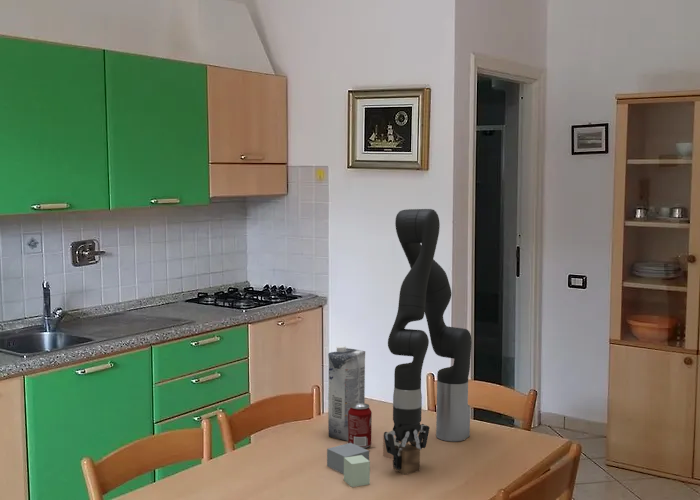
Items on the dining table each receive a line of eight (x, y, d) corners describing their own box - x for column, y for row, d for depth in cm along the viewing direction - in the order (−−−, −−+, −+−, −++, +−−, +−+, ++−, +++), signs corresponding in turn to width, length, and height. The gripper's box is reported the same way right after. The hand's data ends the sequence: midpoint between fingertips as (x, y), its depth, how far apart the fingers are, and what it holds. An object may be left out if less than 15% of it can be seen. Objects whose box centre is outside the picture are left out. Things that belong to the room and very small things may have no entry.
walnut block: (408, 465, 212) (408, 443, 212) (419, 471, 208) (420, 449, 207) (393, 469, 209) (393, 447, 209) (404, 474, 205) (405, 452, 205)
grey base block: (350, 460, 216) (350, 442, 215) (368, 469, 210) (369, 450, 209) (327, 466, 211) (327, 448, 211) (345, 475, 205) (345, 457, 204)
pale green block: (361, 477, 203) (361, 455, 203) (369, 484, 199) (369, 461, 198) (343, 480, 201) (343, 457, 201) (351, 487, 196) (351, 464, 196)
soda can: (368, 451, 223) (369, 409, 222) (345, 449, 224) (346, 408, 223) (373, 443, 229) (373, 403, 228) (350, 441, 231) (350, 401, 230)
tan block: (394, 451, 223) (394, 431, 222) (408, 456, 219) (408, 435, 219) (383, 456, 219) (383, 435, 218) (397, 460, 216) (397, 439, 215)
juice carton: (367, 433, 238) (368, 345, 236) (349, 443, 229) (350, 352, 227) (343, 428, 243) (344, 342, 241) (324, 437, 234) (324, 348, 232)
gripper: (419, 396, 214) (418, 457, 216) (376, 404, 206) (376, 467, 208) (437, 403, 208) (436, 465, 209) (394, 411, 200) (393, 476, 201)
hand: (406, 466), depth 209 cm, fingers closed on walnut block, 5 cm apart
